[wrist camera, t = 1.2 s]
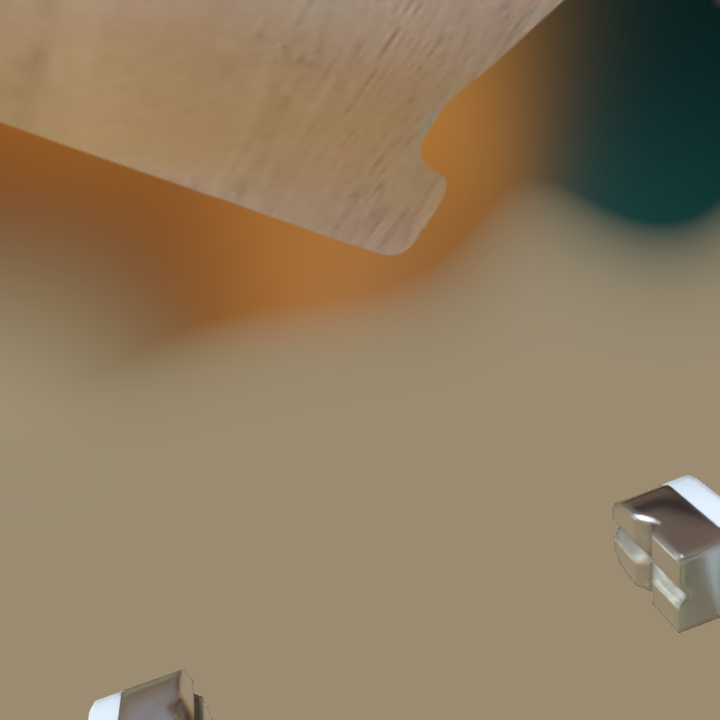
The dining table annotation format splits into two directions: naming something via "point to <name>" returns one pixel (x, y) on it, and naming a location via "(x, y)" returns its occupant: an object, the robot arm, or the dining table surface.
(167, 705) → the robot arm
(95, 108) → the dining table surface
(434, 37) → the dining table surface
